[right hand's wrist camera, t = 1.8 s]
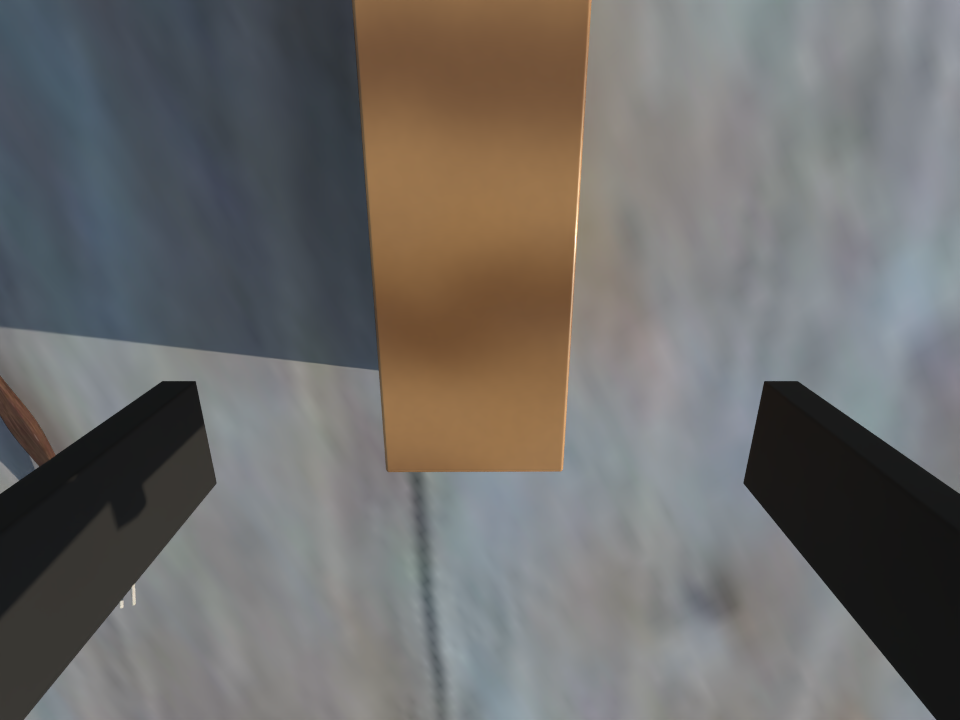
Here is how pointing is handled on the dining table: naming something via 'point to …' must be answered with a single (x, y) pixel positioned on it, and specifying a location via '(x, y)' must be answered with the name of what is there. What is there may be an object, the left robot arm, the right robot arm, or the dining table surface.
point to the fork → (28, 433)
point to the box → (473, 223)
